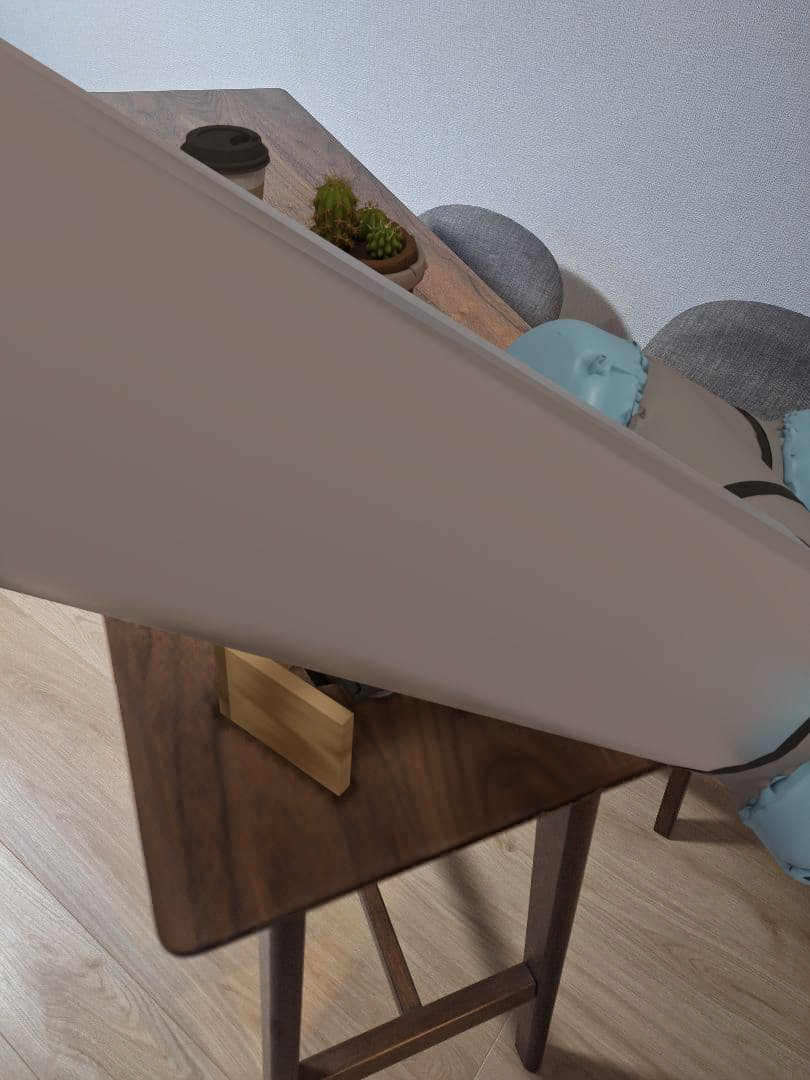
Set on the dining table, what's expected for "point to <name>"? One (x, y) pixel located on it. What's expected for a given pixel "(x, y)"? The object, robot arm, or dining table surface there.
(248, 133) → the coffee cup
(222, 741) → the dining table surface
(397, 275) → the flowerpot
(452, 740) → the dining table surface
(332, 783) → the cubby
